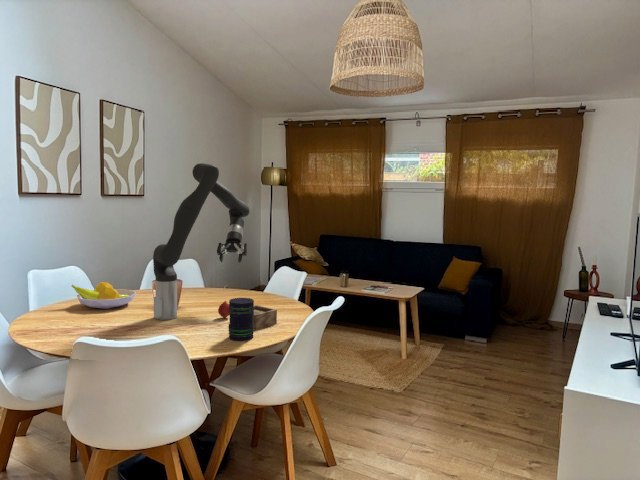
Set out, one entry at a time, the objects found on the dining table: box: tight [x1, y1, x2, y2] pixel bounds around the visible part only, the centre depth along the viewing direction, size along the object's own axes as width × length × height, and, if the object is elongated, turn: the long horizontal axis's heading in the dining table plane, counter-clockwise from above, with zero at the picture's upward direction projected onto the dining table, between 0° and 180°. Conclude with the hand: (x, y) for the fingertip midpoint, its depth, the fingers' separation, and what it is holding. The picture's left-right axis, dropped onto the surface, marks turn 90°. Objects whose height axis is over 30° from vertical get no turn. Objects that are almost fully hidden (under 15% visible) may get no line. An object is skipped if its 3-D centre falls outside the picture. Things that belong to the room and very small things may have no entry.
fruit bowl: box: [71, 281, 137, 310], centre depth 228 cm, size 28×27×11 cm
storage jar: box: [228, 297, 255, 342], centre depth 182 cm, size 10×10×15 cm
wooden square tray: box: [253, 304, 278, 331], centre depth 202 cm, size 13×13×6 cm
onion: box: [217, 300, 230, 319], centre depth 210 cm, size 6×6×8 cm
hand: (230, 261), depth 220 cm, fingers open, 8 cm apart
